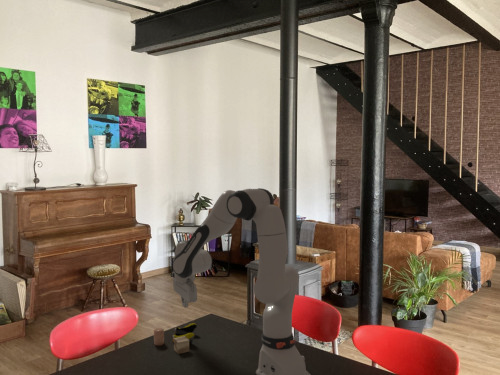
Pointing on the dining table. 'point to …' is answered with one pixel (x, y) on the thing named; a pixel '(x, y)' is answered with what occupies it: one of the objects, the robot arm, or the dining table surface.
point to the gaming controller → (185, 332)
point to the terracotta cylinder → (159, 336)
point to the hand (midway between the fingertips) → (185, 306)
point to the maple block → (181, 344)
